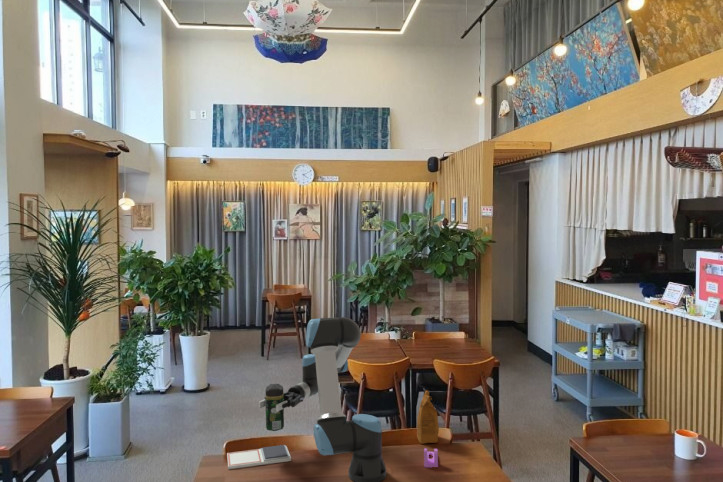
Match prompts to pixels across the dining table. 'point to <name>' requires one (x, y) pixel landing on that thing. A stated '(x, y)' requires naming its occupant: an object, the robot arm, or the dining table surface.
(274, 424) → the coffee jar
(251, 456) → the board
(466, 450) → the dining table surface
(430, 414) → the coffee package
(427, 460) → the bracket
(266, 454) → the ink pad
